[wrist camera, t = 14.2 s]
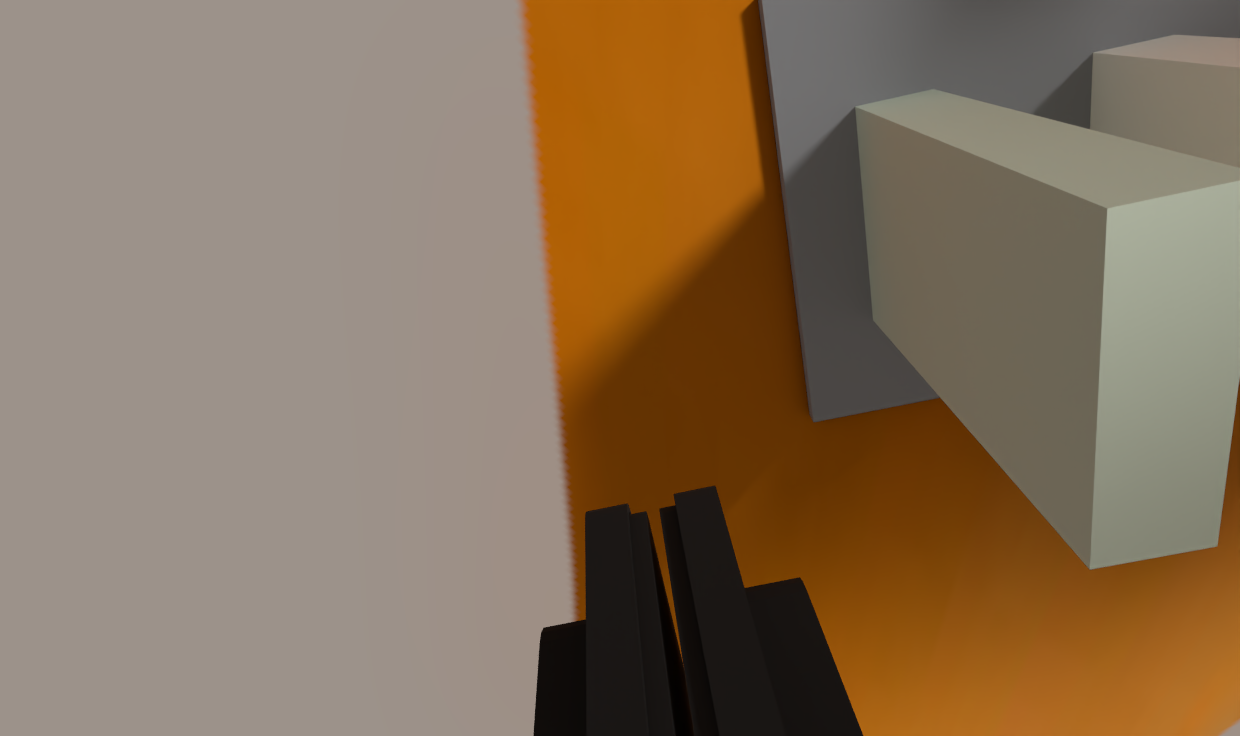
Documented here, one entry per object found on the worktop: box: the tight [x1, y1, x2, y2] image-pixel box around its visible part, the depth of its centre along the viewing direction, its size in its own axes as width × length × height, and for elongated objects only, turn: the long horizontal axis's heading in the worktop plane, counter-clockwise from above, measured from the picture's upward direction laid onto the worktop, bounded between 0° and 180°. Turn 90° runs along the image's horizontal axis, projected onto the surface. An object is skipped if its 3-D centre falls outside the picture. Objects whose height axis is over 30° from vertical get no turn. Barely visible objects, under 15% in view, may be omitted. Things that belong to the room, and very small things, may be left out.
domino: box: [855, 89, 1240, 570], centre depth 16 cm, size 2×6×11 cm, turn 12°
